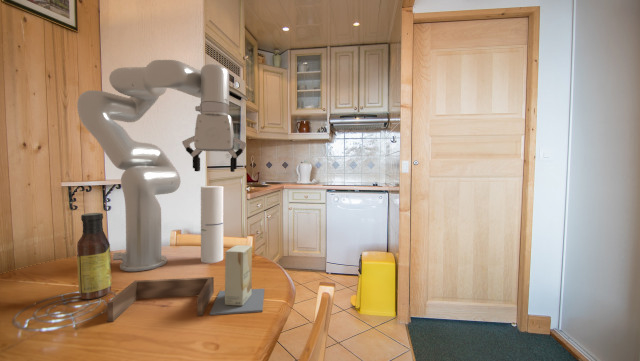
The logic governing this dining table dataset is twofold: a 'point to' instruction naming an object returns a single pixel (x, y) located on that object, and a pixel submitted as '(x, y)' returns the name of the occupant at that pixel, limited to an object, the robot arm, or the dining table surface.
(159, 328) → the dining table surface
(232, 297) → the skincare box
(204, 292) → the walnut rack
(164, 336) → the dining table surface
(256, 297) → the grey rubber mat
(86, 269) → the sauce bottle
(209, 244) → the cylindrical container
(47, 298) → the dining table surface
